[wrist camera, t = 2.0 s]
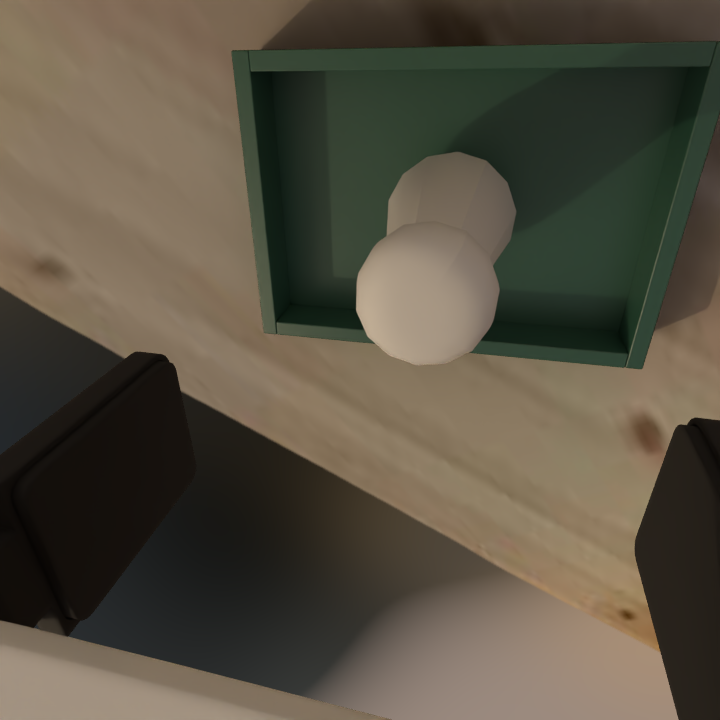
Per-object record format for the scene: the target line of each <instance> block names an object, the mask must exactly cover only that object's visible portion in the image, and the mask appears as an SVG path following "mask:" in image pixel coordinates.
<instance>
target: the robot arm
mask: <svg viewBox="0 0 720 720" xmlns="http://www.w3.org/2000/svg"><path fill="white" fill-rule="evenodd" d="M195 472H196V461H195V456H194V452H193V447H192V442H191V438H190V433H189V428H188V423H187V419H186V414H185V409H184V405H183V401H182V396H181V391H180V386H179V381H178V377H177V372H176V368H175V366H174V365H173V364H172V363H170V362H169V360H168V359H167V357H166V356H164V355H163V354H155V353H146V352H134V353H132V354H131V355H129V356H128V357H127V358H125V359H124V360H123V361H122V362H120V363H119V364H118V365H116V366H115V367H114V368H112V369H111V370H110V371H109V372H107V373H106V374H105V375H103V376H102V377H101V378H100V379H98V380H97V381H96V382H94V383H93V384H92V385H90V386H89V387H88V388H86V389H85V390H84V391H83V392H81V393H80V394H79V395H77V396H76V397H75V398H73V399H72V400H71V401H70V402H68V403H67V404H66V405H64V406H63V407H62V408H60V409H59V410H58V411H57V412H55V413H54V414H53V415H51V416H50V417H49V418H48V419H46V420H45V421H44V422H42V423H41V424H40V425H39V426H37V427H36V428H35V429H33V430H32V431H31V432H29V433H28V434H27V435H25V436H24V437H23V438H21V439H20V440H19V441H18V442H16V443H15V444H14V445H12V446H11V447H10V448H8V449H7V450H6V451H5V452H3V453H2V454H1V455H0V720H391V719H387V718H383V717H379V716H375V715H372V714H368V713H364V712H360V711H356V710H352V709H348V708H344V707H340V706H337V705H333V704H329V703H325V702H321V701H317V700H314V699H310V698H306V697H302V696H298V695H294V694H290V693H286V692H283V691H279V690H274V689H271V688H267V687H263V686H259V685H256V684H252V683H248V682H244V681H240V680H236V679H232V678H228V677H224V676H221V675H217V674H212V673H209V672H205V671H201V670H197V669H193V668H189V667H185V666H181V665H178V664H174V663H169V662H166V661H162V660H158V659H154V658H150V657H146V656H142V655H138V654H134V653H130V652H126V651H122V650H118V649H114V648H110V647H106V646H102V645H98V644H94V643H90V642H86V641H82V640H78V639H74V638H71V637H68V636H69V635H70V633H71V632H72V631H73V629H74V628H75V627H76V625H77V624H78V623H79V621H80V620H85V619H87V618H88V617H89V616H90V615H91V614H92V613H93V612H94V611H95V609H96V608H97V607H98V605H99V604H100V603H101V601H102V600H103V599H104V597H105V596H106V595H107V593H108V592H109V591H110V589H111V588H112V587H113V585H114V584H115V583H116V581H117V580H118V579H119V577H120V576H121V575H122V573H123V572H124V571H125V569H126V568H127V567H128V566H129V564H130V563H131V561H132V560H133V559H134V558H135V556H136V555H137V554H138V552H139V551H140V550H141V548H142V547H143V546H144V544H145V543H146V542H147V540H148V539H149V538H150V536H151V535H152V534H153V532H154V531H155V529H156V528H157V527H158V526H159V524H160V523H161V522H162V520H163V519H164V518H165V516H166V515H167V514H168V512H169V511H170V510H171V508H172V507H173V506H174V504H175V503H176V502H177V501H178V499H179V498H180V497H181V495H182V494H183V493H184V491H185V490H186V489H187V487H188V485H190V483H191V482H192V480H193V478H194V476H195ZM635 557H636V562H637V566H638V569H639V573H640V577H641V581H642V584H643V588H644V592H645V595H646V599H647V603H648V607H649V610H650V614H651V618H652V622H653V625H654V629H655V633H656V637H657V640H658V644H659V648H660V651H661V655H662V659H663V663H664V666H665V670H666V674H667V678H668V681H669V685H670V689H671V692H672V696H673V700H674V703H675V707H676V711H677V715H678V719H679V720H720V420H711V419H703V418H693V419H691V420H690V421H689V422H688V424H687V425H678V426H677V427H676V429H675V431H674V433H673V436H672V439H671V441H670V444H669V447H668V450H667V453H666V455H665V458H664V461H663V464H662V466H661V469H660V472H659V475H658V478H657V480H656V483H655V486H654V489H653V491H652V494H651V497H650V500H649V503H648V505H647V508H646V511H645V514H644V516H643V519H642V522H641V525H640V528H639V530H638V533H637V536H636V540H635ZM36 624H37V625H38V627H39V629H40V630H39V629H35V628H34V627H35V626H36Z"/></svg>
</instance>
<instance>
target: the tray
mask: <svg viewBox="0 0 720 720" xmlns="http://www.w3.org/2000/svg"><path fill="white" fill-rule="evenodd" d="M232 61H233V69H234V78H235V87H236V95H237V104H238V113H239V121H240V130H241V139H242V147H243V156H244V165H245V173H246V182H247V191H248V199H249V208H250V217H251V225H252V234H253V243H254V251H255V260H256V269H257V277H258V286H259V295H260V303H261V312H262V321H263V329H264V333H268V334H280V335H290V336H300V337H311V338H321V339H332V340H342V341H352V342H363V343H373V344H376V343H374V342H373V341H372V340H371V339H370V338H369V337H367V334H366V332H365V330H364V327H363V325H362V323H361V321H360V318H359V316H358V314H357V311H356V295H357V278H358V273H359V271H360V269H361V268H362V266H363V264H364V263H365V261H366V259H367V257H368V256H369V254H370V252H371V250H372V249H373V247H374V246H375V245H376V244H377V243H378V242H379V241H380V240H382V239H383V238H384V237H386V236H387V220H388V202H389V198H390V197H391V195H392V193H393V191H394V189H395V188H396V186H397V184H398V182H399V180H400V179H401V177H402V175H403V174H404V173H405V172H407V171H408V170H410V169H411V168H412V167H414V166H415V165H416V164H418V163H419V162H421V161H422V160H423V159H425V158H426V157H428V156H434V155H440V154H446V153H452V152H461V153H464V154H467V155H470V156H473V157H477V158H480V159H483V160H486V161H487V162H488V163H489V164H490V165H491V166H492V167H493V168H494V169H495V170H496V171H497V172H498V173H499V174H500V175H501V176H502V177H503V178H504V179H505V180H506V181H507V183H508V186H509V189H510V192H511V195H512V199H513V202H514V205H515V208H516V216H515V221H514V226H513V230H512V235H511V240H510V241H509V243H508V244H507V246H506V247H505V249H504V250H503V252H502V253H501V254H500V256H499V257H498V259H497V260H496V262H495V263H494V265H493V268H494V271H495V274H496V277H497V280H498V283H499V289H500V291H499V296H498V301H497V306H496V311H495V316H494V320H493V323H492V325H491V327H490V328H489V330H488V331H487V332H486V334H485V335H484V336H483V338H482V339H481V340H480V342H479V343H478V344H477V346H476V347H475V348H474V349H473V351H471V352H469V353H477V354H487V355H498V356H508V357H518V358H529V359H539V360H550V361H560V362H570V363H581V364H591V365H601V366H612V367H622V368H624V367H626V368H633V369H642V368H643V365H644V362H645V359H646V355H647V352H648V349H649V345H650V342H651V339H652V336H653V332H654V329H655V326H656V322H657V319H658V316H659V312H660V309H661V306H662V302H663V299H664V296H665V293H666V289H667V286H668V283H669V279H670V276H671V273H672V269H673V266H674V263H675V259H676V256H677V253H678V250H679V246H680V243H681V240H682V236H683V233H684V230H685V226H686V223H687V220H688V216H689V213H690V210H691V206H692V203H693V200H694V197H695V193H696V190H697V187H698V183H699V180H700V177H701V173H702V170H703V167H704V163H705V160H706V157H707V154H708V150H709V147H710V144H711V140H712V137H713V134H714V130H715V127H716V124H717V120H718V117H719V114H720V41H697V42H645V43H594V44H542V45H490V46H438V47H386V48H334V49H283V50H233V51H232Z"/></svg>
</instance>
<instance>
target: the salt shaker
mask: <svg viewBox="0 0 720 720" xmlns="http://www.w3.org/2000/svg"><path fill="white" fill-rule="evenodd" d="M515 216H516V208H515V205H514V202H513V199H512V195H511V192H510V189H509V186H508V183H507V181H506V180H505V179H504V178H503V177H502V176H501V175H500V174H499V173H498V172H497V171H496V170H495V169H494V168H493V167H492V166H491V165H490V164H489V163H488V162H487V161H486V160H483V159H480V158H477V157H473V156H470V155H467V154H464V153H461V152H452V153H446V154H440V155H434V156H428V157H426V158H425V159H423V160H422V161H421V162H419V163H418V164H416V165H415V166H414V167H412V168H411V169H410V170H408V171H407V172H405V173H404V174H403V175H402V177H401V179H400V180H399V182H398V184H397V186H396V188H395V189H394V191H393V193H392V195H391V197H390V198H389V202H388V220H387V236H386V237H384V238H383V239H382V240H380V241H379V242H378V243H377V244H376V245H375V246H374V247H373V249H372V250H371V252H370V254H369V256H368V257H367V259H366V261H365V263H364V264H363V266H362V268H361V269H360V271H359V273H358V278H357V295H356V311H357V314H358V316H359V318H360V321H361V323H362V325H363V327H364V330H365V332H366V334H367V337H369V338H370V339H371V340H372V341H373V342H374V343H376V344H377V345H378V346H379V347H380V348H381V349H382V350H384V351H385V352H386V353H387V354H388V355H389V356H392V357H395V358H398V359H401V360H403V361H406V362H409V363H412V364H414V365H430V364H446V363H448V362H450V361H452V360H454V359H456V358H459V357H461V356H463V355H465V354H467V353H469V352H471V351H473V349H474V348H475V347H476V346H477V344H478V343H479V342H480V340H481V339H482V338H483V336H484V335H485V334H486V332H487V331H488V330H489V328H490V327H491V325H492V323H493V320H494V316H495V311H496V306H497V301H498V296H499V291H500V289H499V283H498V280H497V277H496V274H495V271H494V268H493V265H494V263H495V262H496V260H497V259H498V257H499V256H500V254H501V253H502V252H503V250H504V249H505V247H506V246H507V244H508V243H509V241H510V240H511V235H512V230H513V226H514V221H515Z"/></svg>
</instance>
